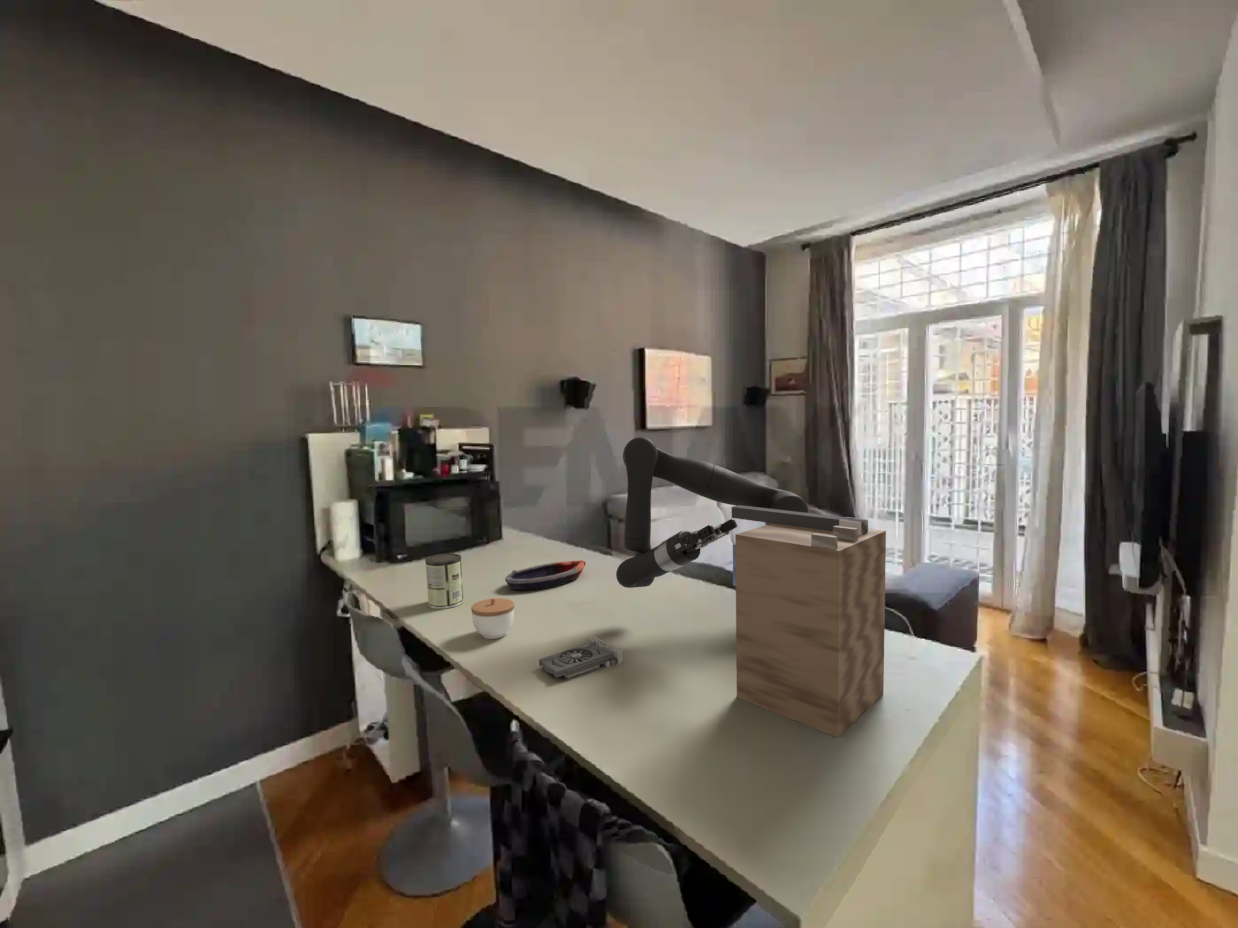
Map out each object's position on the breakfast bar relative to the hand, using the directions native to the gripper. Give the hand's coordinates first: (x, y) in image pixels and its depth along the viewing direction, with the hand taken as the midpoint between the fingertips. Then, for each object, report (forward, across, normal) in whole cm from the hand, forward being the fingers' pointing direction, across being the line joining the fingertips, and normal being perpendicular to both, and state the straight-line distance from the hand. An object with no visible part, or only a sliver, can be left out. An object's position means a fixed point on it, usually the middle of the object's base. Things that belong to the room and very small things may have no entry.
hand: (724, 525), depth 125 cm
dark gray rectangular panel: (+16, 0, +7) cm, 17 cm away
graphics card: (-34, -27, +16) cm, 45 cm away
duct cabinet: (+5, -5, +37) cm, 38 cm away
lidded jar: (-58, -30, +1) cm, 66 cm away
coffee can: (-86, -27, -16) cm, 91 cm away
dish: (-81, +7, -12) cm, 82 cm away
